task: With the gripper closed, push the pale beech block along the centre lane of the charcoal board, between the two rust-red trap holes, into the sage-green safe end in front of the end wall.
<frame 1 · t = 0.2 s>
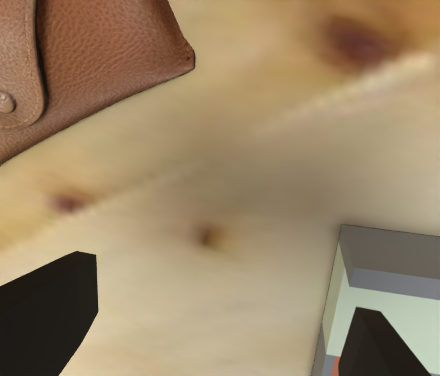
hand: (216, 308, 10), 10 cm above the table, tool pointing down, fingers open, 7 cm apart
sunglasses case: (33, 66, 20), on the table
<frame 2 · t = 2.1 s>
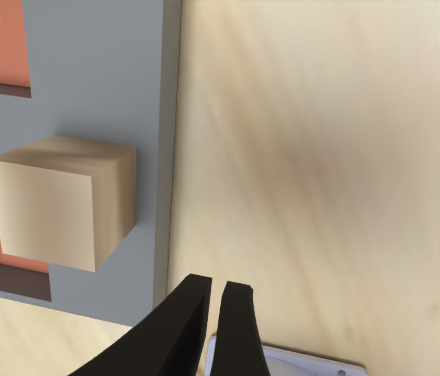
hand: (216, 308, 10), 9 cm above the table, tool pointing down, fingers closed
beech block: (96, 181, 17), point 2 cm above the table, touching trap board
trap board: (34, 151, 20), on the table
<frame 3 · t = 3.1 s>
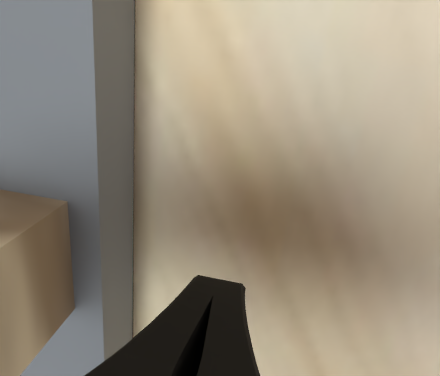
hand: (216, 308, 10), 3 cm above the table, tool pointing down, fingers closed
beech block: (14, 247, 12), point 2 cm above the table, touching trap board
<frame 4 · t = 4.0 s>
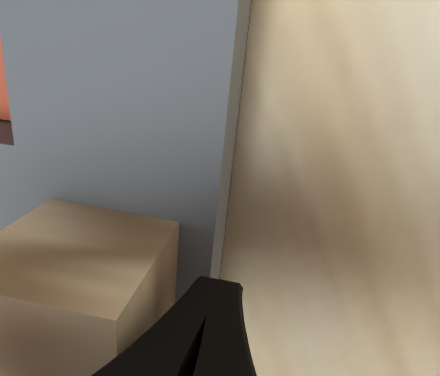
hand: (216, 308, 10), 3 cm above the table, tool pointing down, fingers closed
beech block: (114, 267, 11), point 3 cm above the table, touching gripper, trap board
trap board: (23, 208, 14), on the table
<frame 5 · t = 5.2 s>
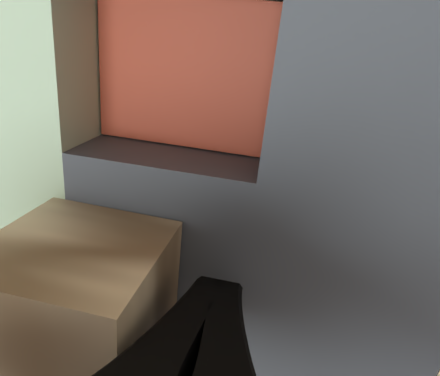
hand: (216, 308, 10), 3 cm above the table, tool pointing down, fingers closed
beech block: (116, 267, 11), point 3 cm above the table, touching gripper, trap board
trap board: (195, 239, 13), on the table
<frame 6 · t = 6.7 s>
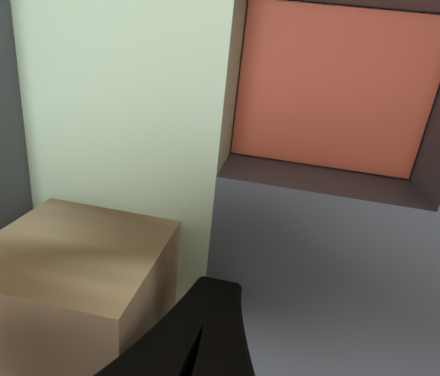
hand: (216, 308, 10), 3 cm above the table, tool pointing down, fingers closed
beech block: (114, 266, 11), point 2 cm above the table, touching gripper, trap board
trap board: (317, 261, 13), on the table
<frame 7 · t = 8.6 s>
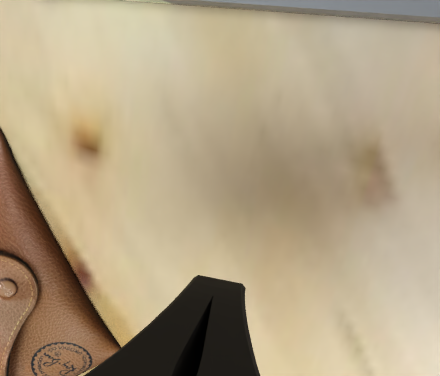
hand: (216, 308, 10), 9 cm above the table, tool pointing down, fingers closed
sunglasses case: (26, 259, 24), on the table
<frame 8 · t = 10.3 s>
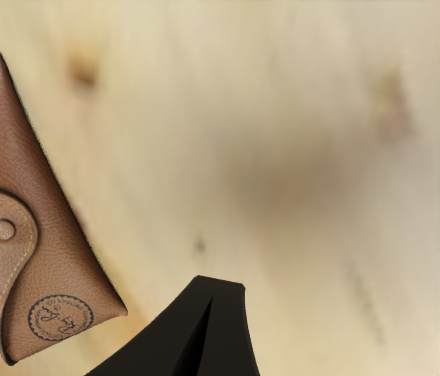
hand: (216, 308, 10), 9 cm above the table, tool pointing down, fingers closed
sunglasses case: (25, 208, 23), on the table
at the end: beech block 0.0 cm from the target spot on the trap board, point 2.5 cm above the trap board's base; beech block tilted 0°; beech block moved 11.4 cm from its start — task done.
